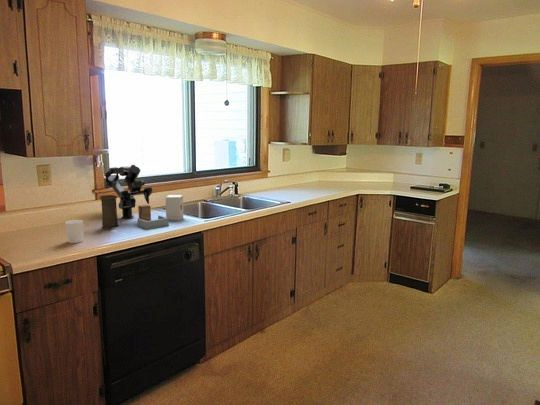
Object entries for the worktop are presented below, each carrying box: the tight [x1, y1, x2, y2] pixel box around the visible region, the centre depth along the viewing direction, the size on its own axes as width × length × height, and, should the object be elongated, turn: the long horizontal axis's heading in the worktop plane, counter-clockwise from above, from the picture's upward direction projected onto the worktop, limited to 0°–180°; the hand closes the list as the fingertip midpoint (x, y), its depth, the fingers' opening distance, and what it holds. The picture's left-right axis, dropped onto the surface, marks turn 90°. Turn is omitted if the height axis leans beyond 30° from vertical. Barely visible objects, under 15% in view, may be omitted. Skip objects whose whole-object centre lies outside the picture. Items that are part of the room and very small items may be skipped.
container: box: [99, 194, 120, 230], centre depth 226 cm, size 9×9×18 cm
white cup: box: [65, 219, 84, 244], centre depth 199 cm, size 8×8×10 cm
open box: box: [137, 215, 170, 230], centre depth 230 cm, size 10×14×5 cm
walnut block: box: [138, 204, 152, 221], centre depth 236 cm, size 5×5×11 cm
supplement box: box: [165, 194, 184, 221], centre depth 247 cm, size 9×9×15 cm
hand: (141, 204), depth 238 cm, fingers open, 9 cm apart
